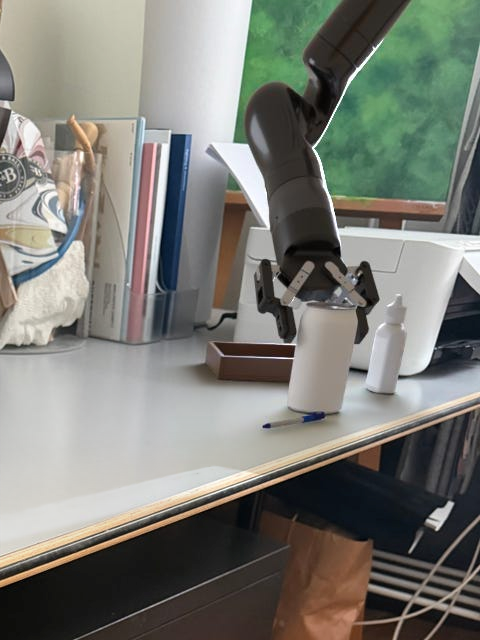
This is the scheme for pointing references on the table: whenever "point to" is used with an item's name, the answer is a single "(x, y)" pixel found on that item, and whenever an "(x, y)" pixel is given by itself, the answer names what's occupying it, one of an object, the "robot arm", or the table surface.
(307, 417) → the ballpoint pen
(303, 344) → the can
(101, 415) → the table surface
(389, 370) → the eye dropper bottle
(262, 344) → the tray
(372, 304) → the robot arm
